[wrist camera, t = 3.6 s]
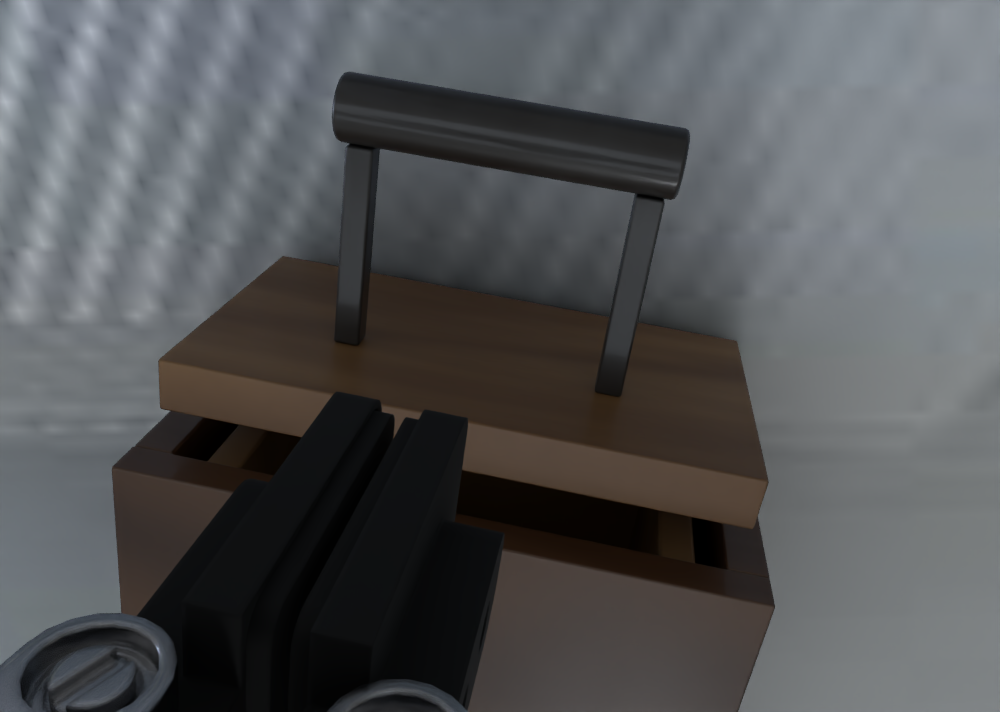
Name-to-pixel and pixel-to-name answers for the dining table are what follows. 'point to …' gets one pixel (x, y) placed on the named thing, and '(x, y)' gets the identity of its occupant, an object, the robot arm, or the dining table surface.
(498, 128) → the drawer
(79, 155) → the dining table surface
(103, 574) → the dining table surface
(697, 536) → the cabinet
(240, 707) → the robot arm
